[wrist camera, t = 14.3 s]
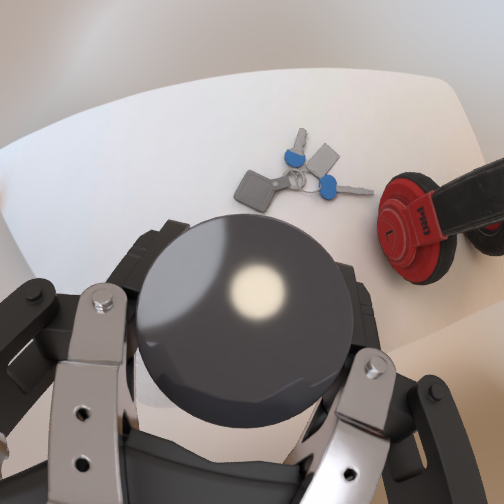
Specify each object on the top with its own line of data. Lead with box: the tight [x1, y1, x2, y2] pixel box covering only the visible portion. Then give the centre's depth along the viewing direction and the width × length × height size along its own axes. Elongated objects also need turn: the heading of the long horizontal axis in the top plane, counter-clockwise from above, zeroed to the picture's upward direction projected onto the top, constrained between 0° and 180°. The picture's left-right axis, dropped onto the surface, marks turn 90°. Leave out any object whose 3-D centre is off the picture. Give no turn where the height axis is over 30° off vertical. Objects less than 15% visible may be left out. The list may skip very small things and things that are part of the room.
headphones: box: [377, 158, 504, 285], centre depth 19 cm, size 18×10×20 cm, turn 102°
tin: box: [135, 214, 353, 428], centre depth 10 cm, size 5×5×8 cm
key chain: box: [234, 128, 374, 212], centre depth 28 cm, size 14×8×1 cm, turn 101°
